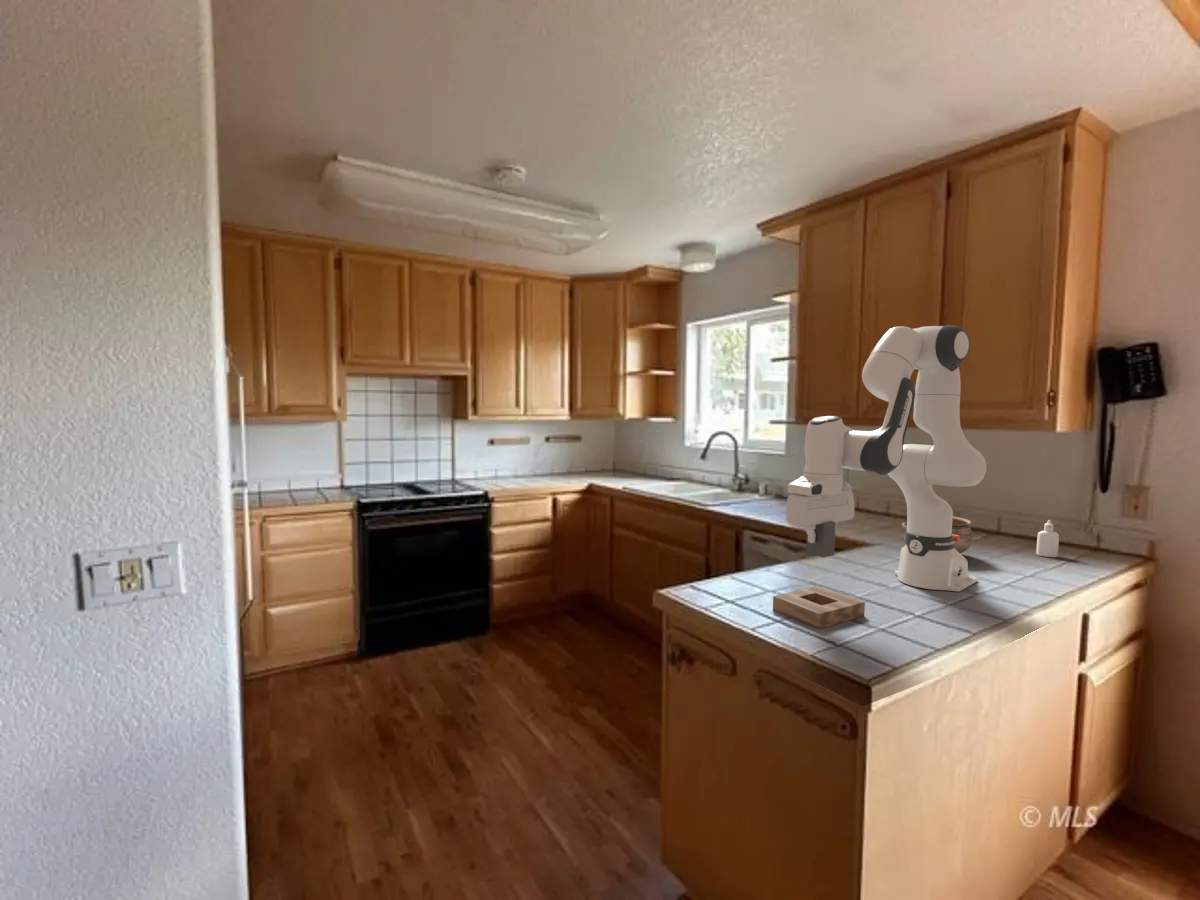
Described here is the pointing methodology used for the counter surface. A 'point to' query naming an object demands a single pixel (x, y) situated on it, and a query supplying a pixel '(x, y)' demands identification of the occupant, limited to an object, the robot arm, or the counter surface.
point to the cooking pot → (960, 533)
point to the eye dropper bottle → (1047, 541)
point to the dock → (818, 606)
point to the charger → (823, 540)
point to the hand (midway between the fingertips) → (820, 541)
